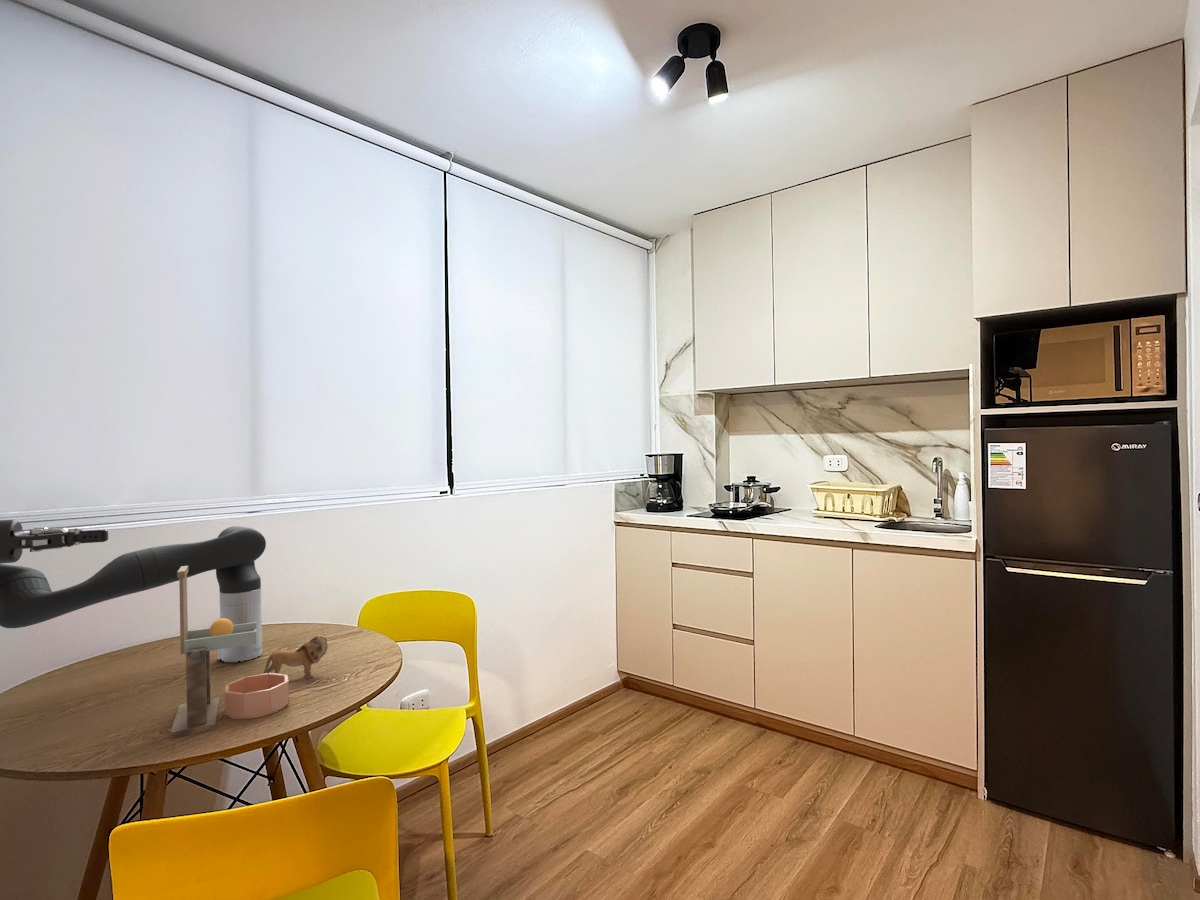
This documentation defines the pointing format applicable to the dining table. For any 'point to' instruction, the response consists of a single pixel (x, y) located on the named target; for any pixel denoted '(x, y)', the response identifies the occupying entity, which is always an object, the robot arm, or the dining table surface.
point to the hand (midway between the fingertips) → (107, 535)
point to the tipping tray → (203, 637)
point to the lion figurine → (299, 656)
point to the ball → (221, 627)
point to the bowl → (256, 696)
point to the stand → (197, 697)
